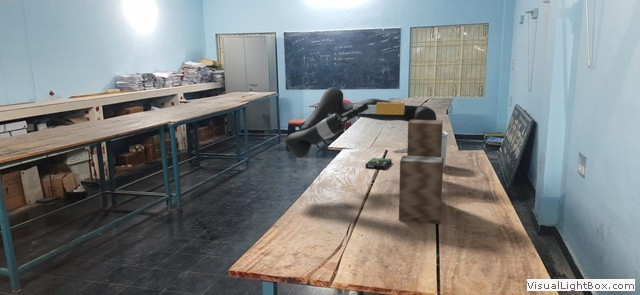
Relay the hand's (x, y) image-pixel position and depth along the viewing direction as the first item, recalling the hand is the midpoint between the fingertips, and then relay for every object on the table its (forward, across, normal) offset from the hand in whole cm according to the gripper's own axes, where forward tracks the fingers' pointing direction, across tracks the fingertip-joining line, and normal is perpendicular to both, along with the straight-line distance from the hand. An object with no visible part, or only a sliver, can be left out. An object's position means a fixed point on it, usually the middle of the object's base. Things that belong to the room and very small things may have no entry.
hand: (368, 105), depth 158 cm
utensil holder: (0, +59, +44) cm, 74 cm away
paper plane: (-12, +94, +38) cm, 102 cm away
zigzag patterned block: (0, -6, +44) cm, 44 cm away
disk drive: (-23, +54, +31) cm, 67 cm away
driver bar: (+2, 0, +4) cm, 5 cm away
